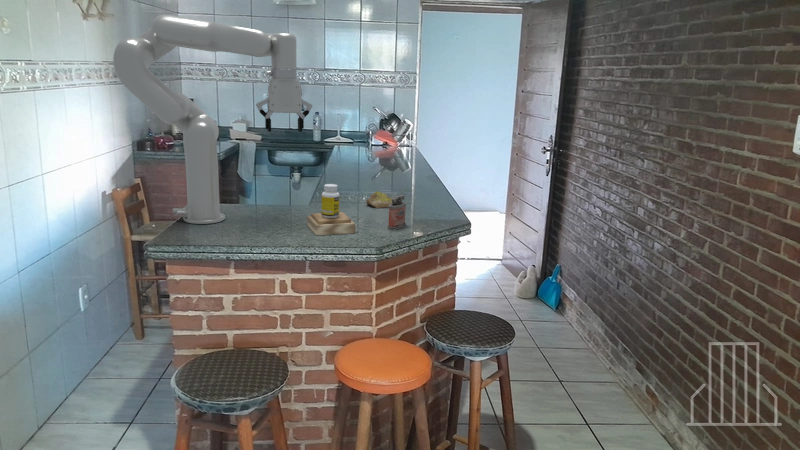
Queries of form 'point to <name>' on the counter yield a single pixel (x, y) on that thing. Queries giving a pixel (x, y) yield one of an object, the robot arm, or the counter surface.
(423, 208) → the counter surface
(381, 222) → the counter surface
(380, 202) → the rock
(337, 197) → the supplement bottle
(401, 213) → the lighter
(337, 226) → the plinth
